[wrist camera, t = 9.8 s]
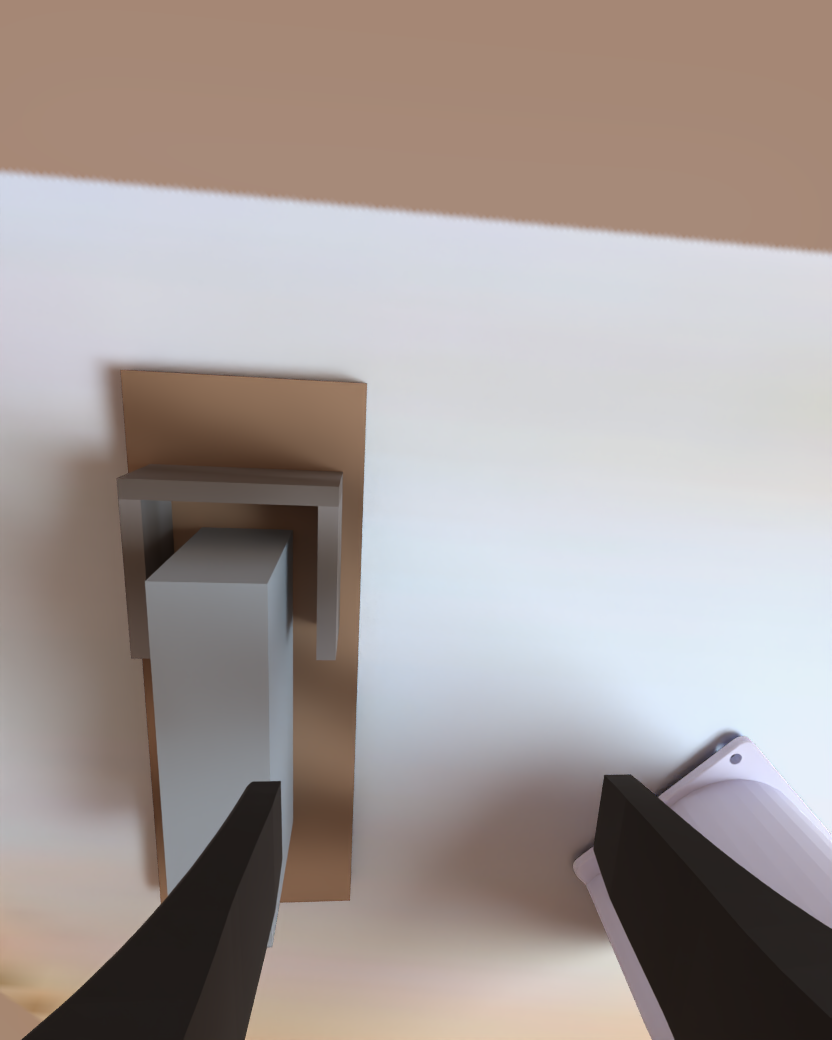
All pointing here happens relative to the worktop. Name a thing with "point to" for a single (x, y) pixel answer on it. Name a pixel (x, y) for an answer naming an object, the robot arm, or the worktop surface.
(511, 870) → the worktop surface
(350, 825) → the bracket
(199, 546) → the rail
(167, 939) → the robot arm
